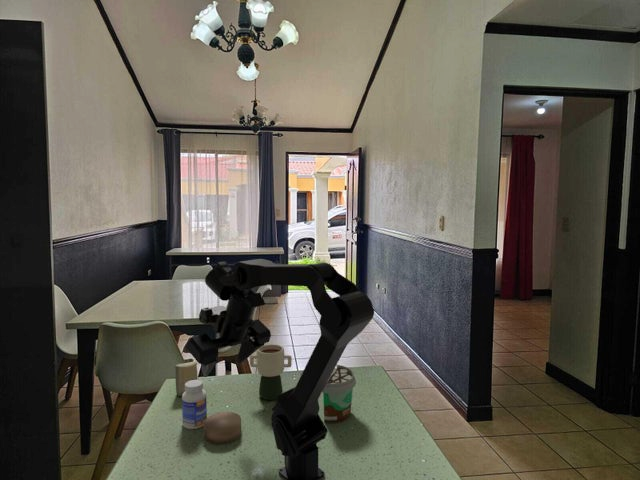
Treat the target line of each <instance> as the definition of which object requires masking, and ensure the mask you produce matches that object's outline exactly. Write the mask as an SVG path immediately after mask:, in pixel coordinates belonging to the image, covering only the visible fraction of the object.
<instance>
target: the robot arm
mask: <svg viewBox="0 0 640 480" xmlns="http://www.w3.org/2000/svg"><path fill="white" fill-rule="evenodd" d="M204 282H205V285H206V286H207V287H208V288H209V289H210V290H211V291H212V293H214V294H215V296H217V297H218V299H220V300H221V301H224V302H226V301H227V304H226V306H225V305H217V306H213V307H207V306H206V307H203V308H200V311H199V314H198V321H199V322H200V323H201V324H203V325H210V326H212V327H213V331H214V333H215V334H218V338H215V339H211V337H210V336H209V335H208V334H207V333H204V334H203V333H202V334H200V335H196V336H193V337H189V338H188V340H187V342H186V347H185V348H186V350H187V351H188V352H189V353H190V355H191V356H192V357H193V358H194V360H195V362H197V364H198V365H199V364H200V366H201V373H202V376H203V377H205V378H206V377H207V378H208V376H209V375H210V374H211V372H212V370H213V368H214V367H215V365H216V364H217V362H218V359H217V358H218V356H219V354H220V352H219V351H220V350H222V349H223V350H224V349H225V348H229V347H234V346H237V345H240V347H239V351H238V355H237V359H236V363H237V364H238V365H239V366H240V365H242V364H243V363H244V362H245V361H246V360H248V359H249V358H250V356H251V355H254V353H255V352H257V350H258V349H259V348H260V347H261V346H264V345H266V343H267V344H268V343H269V342H270V340H271V337H272V332H271V330H270V329H269V328H268V327H267V326H266V325H265V324H264V323H263V322H262V321H261V320H260V319H259V318H257V319H253V316H254V312H255V309H256V308H260V307H262V306H265V304H266V301H265V299H264V298H263V297H262V293H261V292H257V291H256V290H255V289H256V288H260V287H265V286H287V287H289V286H290V287H292V286H293V287H306V288H307V289H308V290H309V292H310V295H311V302H312V305H313V307H314V309H315V310H316V311H317V312H318V314H319V315H320V318H319V324H318V325H319V330H320V337H319V338H318V341H317V342H316V345H315V347H314V349H313V350H312V353H311V355H310V357H309V359H308V361H307V363H306V365H305V366H304V369H303V371H302V373H301V375H300V377H299V379H298V381H297V383H296V385H295V386H294V387H292V388H290V389H288V390H285V391H283V393H282V394H279V396H278V397H277V398H276V400H275V404H274V406H273V407H272V408H270V411H271V412H272V413H271V416H270V417H271V418H270V419H271V420H270V421H271V428H272V432H273V437H274V439H275V440H274V441H275V445H276V449H277V450H279V451H280V452H281V455H282V456H283V457H284V467H281V468H279V469H278V474H279V475H280V476H281V477H282V478H284V479H285V480H319V479H321V478H323V477H325V473H326V472H325V471H324V470H322V469H321V468H320V467H319V446H317V445H318V444H317V443H320V442H321V441H323V440H325V439H326V437H327V435H328V428H327V427H326V425H325V422H324V420H322V418H321V416H320V415H319V412H320V403H319V398H320V396H321V394H322V391H323V389H324V387H325V385H326V383H327V382H328V380H329V379H330V377H331V375H332V374H333V373H334V371H335V368H337V365H338V363H339V361H340V359H341V357H342V355H343V353H344V351H345V350H346V348H347V346H348V345H349V343H350V342H352V340H354V339H355V338H356V337H357V336H358V335H359V334H361V333H362V332H363V331H364V330H365V328H366V327H367V326H368V325H369V324H370V322H372V320H373V318H374V315H375V309H374V305H373V303H372V300H371V298H370V297H369V296H368V295H367V294H366V293H364V292H362V290H361V289H360V288H359V287H358V286H357V285H356V284H355V282H353V281H351V280H349V278H347V277H345V276H344V275H342V274H341V273H339V272H338V270H336V269H335V267H334V266H333V265H332V264H330V263H328V262H319V263H299V264H298V263H295V264H294V263H289V264H285V263H284V264H283V263H282V264H278V263H275V262H273V261H272V260H268V259H265V258H258V259H257V258H256V259H248V260H242V261H236V262H235V263H233V267H232V268H231V267H230V266H229V264H228V263H227V262H226V261H220V262H216V266H215V267H214V268H212V269H211V270H210V271H209V272H208V273H207V275H206V276H205V278H204ZM327 289H329V290H330V291H332V292H333V293H334V294H336V295H337V296H336V297H335V296H334V297H331V295H329V293H328V292H327Z"/></svg>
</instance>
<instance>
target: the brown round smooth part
mask: <svg viewBox="0 0 640 480" xmlns="http://www.w3.org/2000/svg"><path fill="white" fill-rule="evenodd" d="M203 431H204V432H203V437H204V439H205V441H206V442H207V443H210V444H213V445H226V444H229V443H233V442H234V441H237V440H238V438H240V436H241V435H242V418H241V415H239V413H237V412H234V411H220V412H215V413H212V414H211V415H208V416H207V418H206V420H205V421H204V426H203Z"/></svg>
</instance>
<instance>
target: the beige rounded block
mask: <svg viewBox="0 0 640 480" xmlns="http://www.w3.org/2000/svg"><path fill="white" fill-rule="evenodd" d="M197 365H198V362H197V361H196V360H195V361H191V362H186V363H177V364H176V365H175V391H176V392H175V393H176V396H177V397H182V395H183V393H184V392H185V383H186V382H188V381H191V380H198V366H197Z"/></svg>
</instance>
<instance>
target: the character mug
mask: <svg viewBox="0 0 640 480" xmlns="http://www.w3.org/2000/svg"><path fill="white" fill-rule="evenodd" d="M255 359H256V363H254V361H255ZM285 359H287V363H285ZM292 361H293V359H292V356H291V355H288V354H285V348H284V346H283V345H280V344H277V343H275V344H274V343H267V344H264V346H261V347H260V348H259V349H258V350H256V354H252V355H251V356H249V366H250V367H251V368H257V369H256V370H257V374H259V375H260V380H259V381H260V382H259V387H258V388H259V390H258V395H259V397H261V398H262V399H265V400H270V401H271V400H272V401H273V400H275V399H276V400H277V397H278V396H279V394H282V393H284V389H283V383H282V378H281V375H282V374H283V372H284V370H285V368H291V367H292Z"/></svg>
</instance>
